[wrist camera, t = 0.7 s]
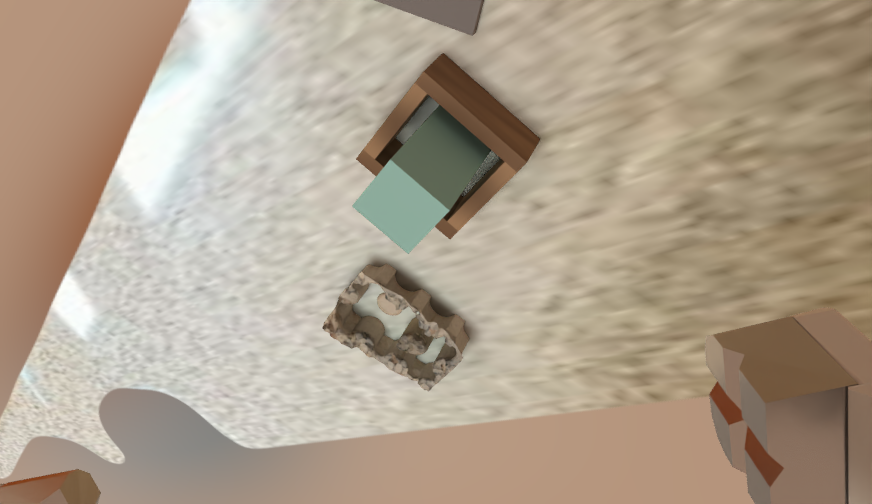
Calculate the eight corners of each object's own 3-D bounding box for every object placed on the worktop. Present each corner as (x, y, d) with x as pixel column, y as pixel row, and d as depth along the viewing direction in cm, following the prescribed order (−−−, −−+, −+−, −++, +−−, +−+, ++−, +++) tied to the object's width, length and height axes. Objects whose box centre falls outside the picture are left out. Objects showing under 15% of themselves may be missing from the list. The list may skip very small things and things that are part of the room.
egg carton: (337, 297, 64) (314, 326, 61) (380, 246, 60) (357, 274, 56) (434, 375, 65) (416, 408, 62) (484, 331, 60) (467, 364, 57)
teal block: (449, 94, 50) (390, 159, 42) (499, 138, 51) (449, 210, 43) (413, 138, 53) (351, 206, 45) (461, 179, 53) (408, 253, 46)
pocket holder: (443, 53, 49) (423, 71, 46) (540, 139, 50) (526, 162, 47) (376, 137, 54) (355, 159, 51) (465, 214, 55) (449, 239, 52)
